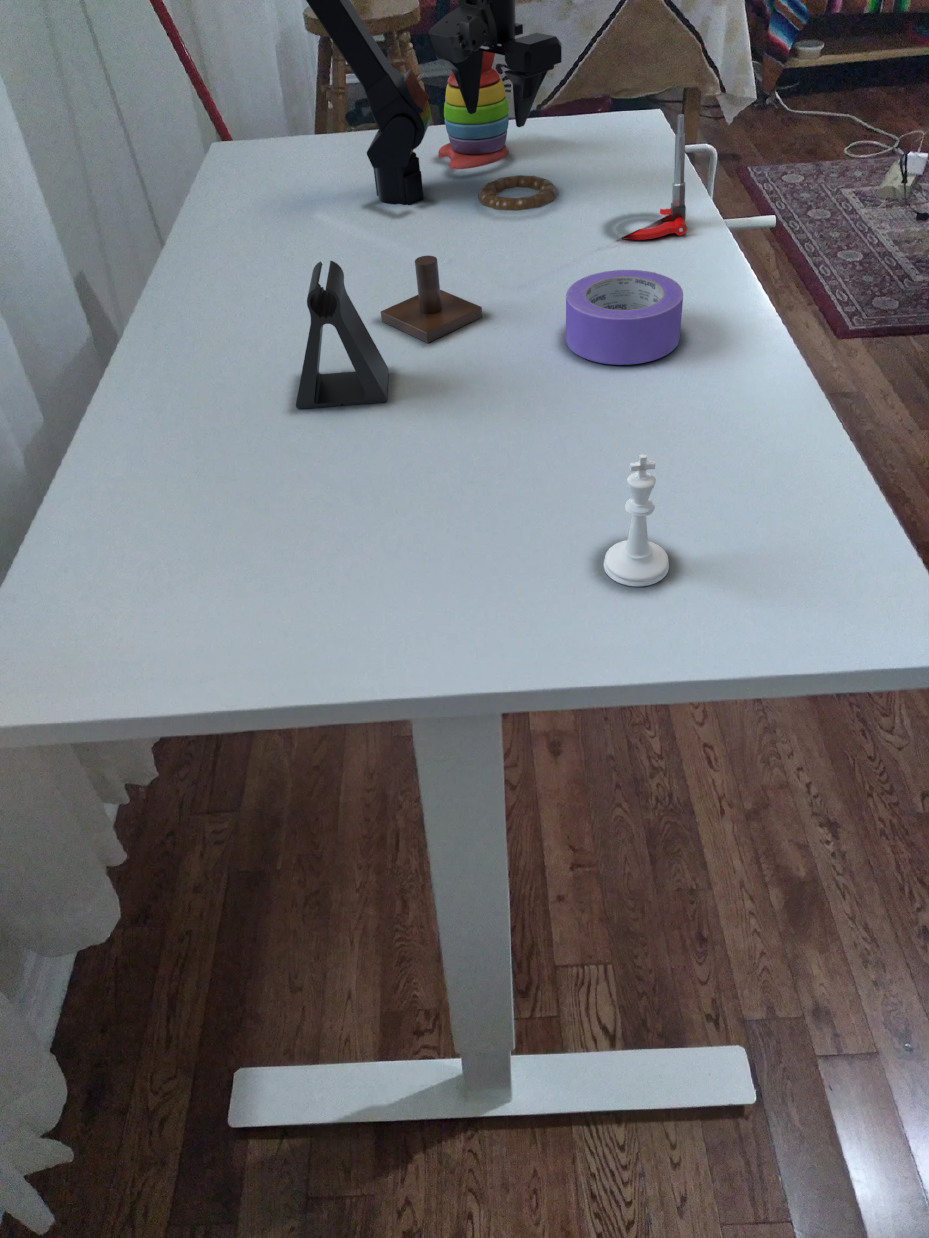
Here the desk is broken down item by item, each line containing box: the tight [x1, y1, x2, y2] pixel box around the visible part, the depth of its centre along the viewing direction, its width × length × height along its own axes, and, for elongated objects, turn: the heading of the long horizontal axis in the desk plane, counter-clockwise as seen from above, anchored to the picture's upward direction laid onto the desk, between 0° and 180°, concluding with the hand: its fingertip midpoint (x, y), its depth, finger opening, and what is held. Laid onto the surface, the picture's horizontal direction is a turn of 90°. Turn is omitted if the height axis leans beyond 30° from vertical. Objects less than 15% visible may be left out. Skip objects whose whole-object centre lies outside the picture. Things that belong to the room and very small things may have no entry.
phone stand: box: [295, 260, 389, 410], centre depth 93 cm, size 9×6×12 cm, turn 91°
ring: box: [477, 174, 559, 212], centre depth 130 cm, size 10×10×2 cm
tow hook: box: [621, 113, 688, 241], centre depth 117 cm, size 8×13×9 cm
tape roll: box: [565, 269, 684, 366], centre depth 99 cm, size 12×12×5 cm
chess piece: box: [603, 453, 670, 587], centre depth 71 cm, size 5×5×10 cm
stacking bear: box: [437, 51, 510, 170], centre depth 138 cm, size 11×10×18 cm
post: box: [380, 255, 483, 344], centre depth 105 cm, size 8×8×7 cm
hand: (495, 120), depth 125 cm, fingers open, 9 cm apart
